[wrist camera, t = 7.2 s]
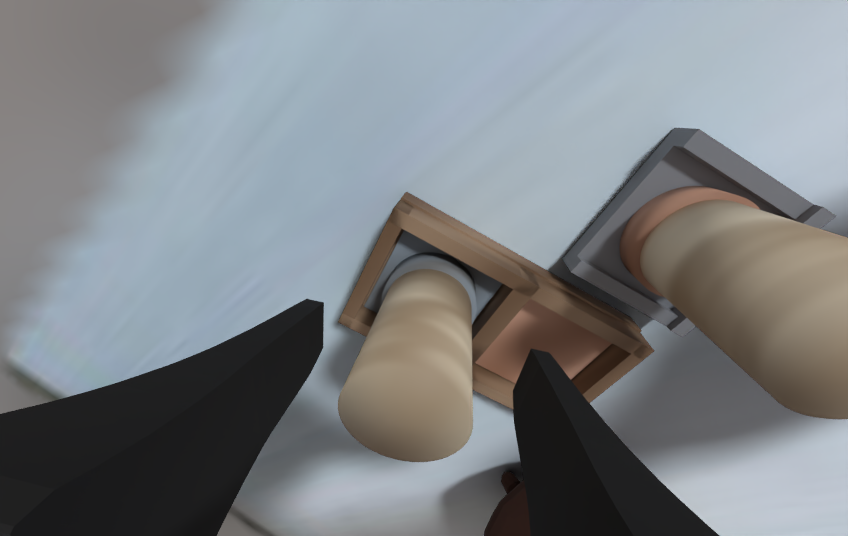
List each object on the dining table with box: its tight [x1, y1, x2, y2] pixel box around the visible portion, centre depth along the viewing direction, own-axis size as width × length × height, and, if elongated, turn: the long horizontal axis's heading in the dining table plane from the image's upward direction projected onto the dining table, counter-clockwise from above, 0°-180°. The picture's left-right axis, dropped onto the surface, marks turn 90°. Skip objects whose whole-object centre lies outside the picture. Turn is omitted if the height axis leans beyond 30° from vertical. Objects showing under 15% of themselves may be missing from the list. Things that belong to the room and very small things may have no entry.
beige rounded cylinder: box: [338, 252, 477, 462], centre depth 11 cm, size 4×4×6 cm
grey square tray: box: [563, 128, 836, 337], centre depth 12 cm, size 6×6×2 cm
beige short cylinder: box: [619, 186, 848, 419], centre depth 9 cm, size 4×4×6 cm
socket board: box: [338, 192, 654, 409], centre depth 14 cm, size 12×6×2 cm, turn 62°
